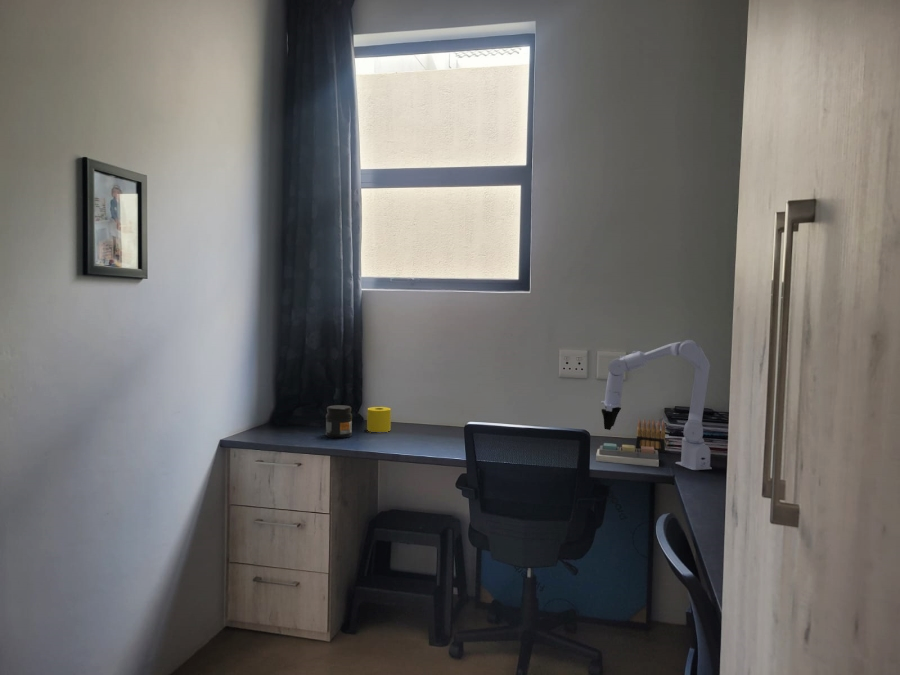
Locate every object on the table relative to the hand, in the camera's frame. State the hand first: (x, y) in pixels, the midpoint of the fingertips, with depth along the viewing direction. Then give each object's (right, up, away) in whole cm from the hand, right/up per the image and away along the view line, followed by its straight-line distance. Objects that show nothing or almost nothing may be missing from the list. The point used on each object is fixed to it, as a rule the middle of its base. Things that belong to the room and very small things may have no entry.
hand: (608, 427), depth 225 cm
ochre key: (+6, -8, -5) cm, 11 cm away
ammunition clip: (+19, -11, +12) cm, 25 cm away
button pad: (+6, -11, -5) cm, 13 cm away
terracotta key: (+12, -8, -7) cm, 16 cm away
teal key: (0, -8, -3) cm, 8 cm away
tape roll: (-89, -7, +37) cm, 97 cm away
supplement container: (-104, -7, +24) cm, 107 cm away
